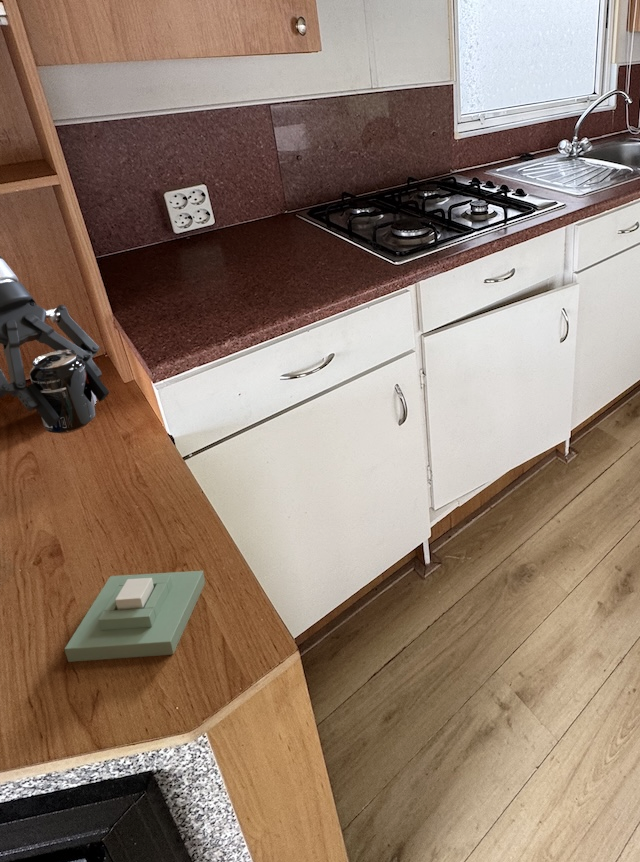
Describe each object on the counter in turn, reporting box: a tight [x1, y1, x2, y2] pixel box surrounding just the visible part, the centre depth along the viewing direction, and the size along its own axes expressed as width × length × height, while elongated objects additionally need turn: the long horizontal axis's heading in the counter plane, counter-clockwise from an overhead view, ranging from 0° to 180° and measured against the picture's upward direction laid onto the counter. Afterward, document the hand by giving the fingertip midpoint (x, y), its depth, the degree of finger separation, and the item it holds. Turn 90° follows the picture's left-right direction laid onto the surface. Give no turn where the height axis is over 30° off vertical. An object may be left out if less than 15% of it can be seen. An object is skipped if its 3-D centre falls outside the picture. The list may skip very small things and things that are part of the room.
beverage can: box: [29, 350, 97, 435], centre depth 91 cm, size 7×7×12 cm
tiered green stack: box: [63, 570, 206, 663], centre depth 73 cm, size 12×10×4 cm
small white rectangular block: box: [115, 578, 154, 610], centre depth 72 cm, size 3×3×2 cm
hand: (80, 409), depth 90 cm, fingers closed on beverage can, 7 cm apart
